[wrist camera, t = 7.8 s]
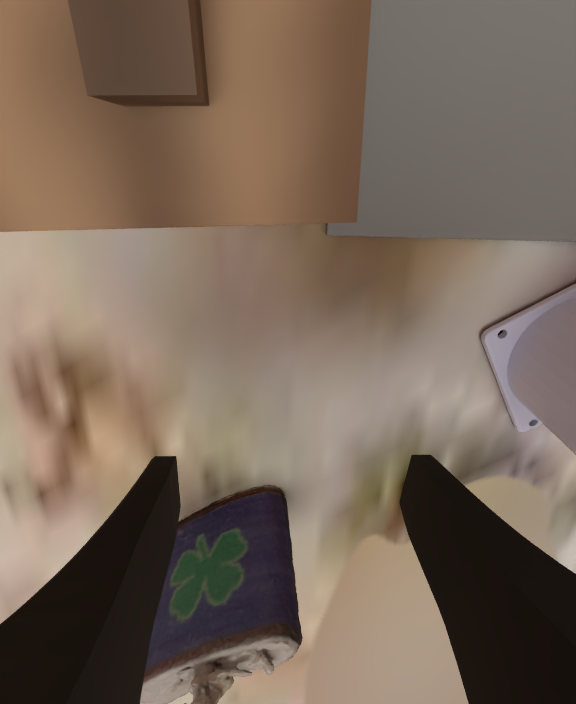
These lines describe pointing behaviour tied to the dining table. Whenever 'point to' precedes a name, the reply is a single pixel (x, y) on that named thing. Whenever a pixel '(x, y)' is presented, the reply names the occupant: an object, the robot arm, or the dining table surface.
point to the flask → (225, 600)
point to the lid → (180, 112)
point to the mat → (469, 121)
